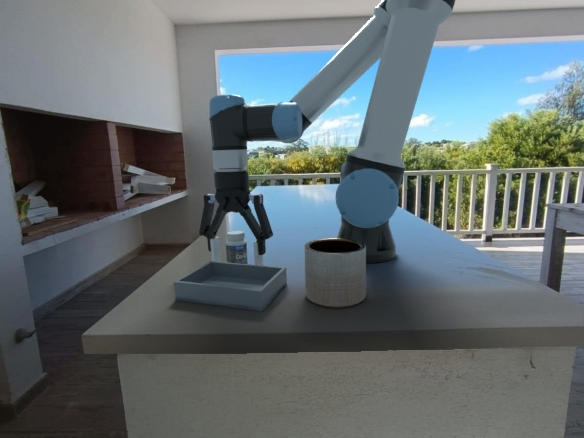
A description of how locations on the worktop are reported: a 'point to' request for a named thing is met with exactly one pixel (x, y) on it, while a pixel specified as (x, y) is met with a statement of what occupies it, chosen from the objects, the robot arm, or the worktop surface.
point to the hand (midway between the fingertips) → (237, 266)
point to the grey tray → (232, 285)
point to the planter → (335, 272)
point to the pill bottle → (236, 247)
